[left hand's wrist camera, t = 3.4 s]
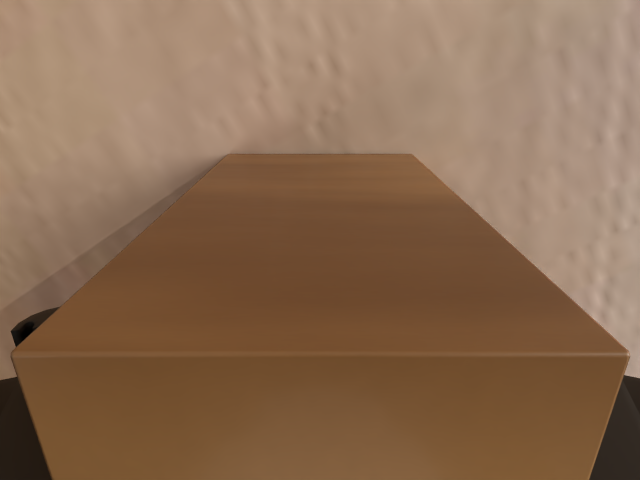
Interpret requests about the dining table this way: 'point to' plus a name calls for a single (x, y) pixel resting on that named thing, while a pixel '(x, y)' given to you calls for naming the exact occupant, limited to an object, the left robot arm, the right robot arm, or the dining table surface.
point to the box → (320, 340)
